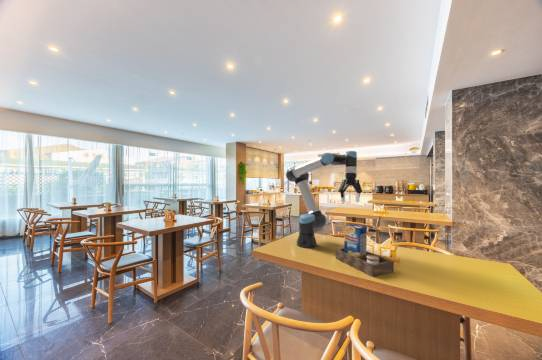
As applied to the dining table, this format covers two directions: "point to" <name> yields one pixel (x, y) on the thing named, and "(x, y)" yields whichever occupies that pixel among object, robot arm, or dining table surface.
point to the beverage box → (355, 240)
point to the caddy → (366, 263)
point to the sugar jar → (372, 259)
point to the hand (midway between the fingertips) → (350, 202)
